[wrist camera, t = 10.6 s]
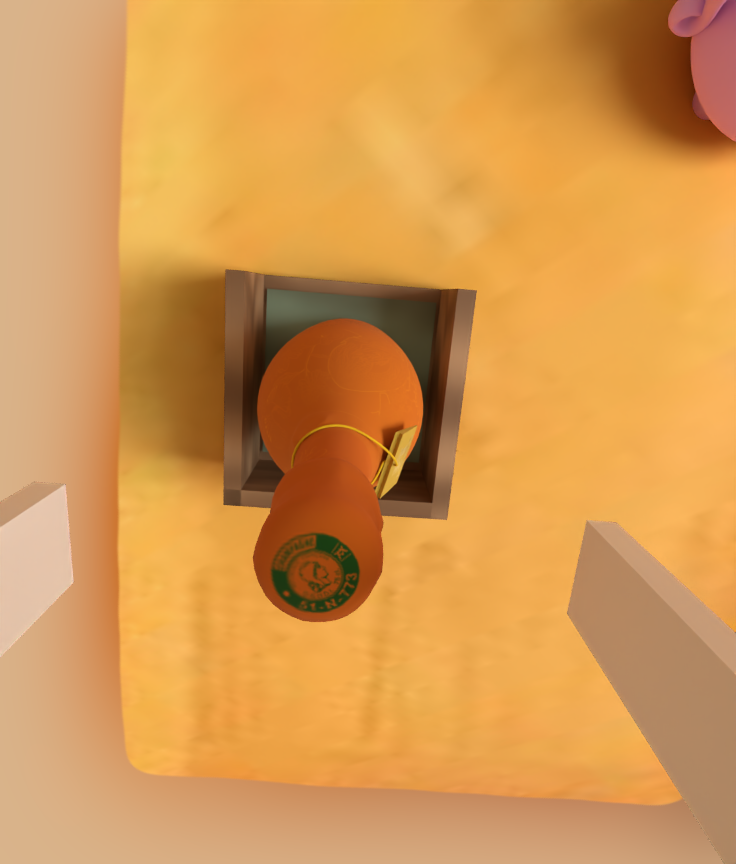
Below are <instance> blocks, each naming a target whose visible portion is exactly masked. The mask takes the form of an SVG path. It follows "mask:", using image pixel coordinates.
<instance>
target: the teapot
mask: <svg viewBox="0 0 736 864" xmlns="http://www.w3.org/2000/svg"><path fill="white" fill-rule="evenodd" d="M668 25H669V28H670V30H671V31H672V32H673V33H674V34H675V35H677V36H680V37H691V36H692V40H691V70H692V78H693V82H694V87H695V90H696V92H695V94H694V97H693V102H692V106H693V111H694V113H695V114H696V115H697V116H698V117H699V118H701V119H703V120H711V121H712V123H713V124H714V125H715V126H716V127H717V128H718V129H719V130H720V131H721V132H722V133H723V134H725V135H726V136H727V137H729V138H730V139H731V140H733V141H735V142H736V0H678V1H677V2H676V3H675V5H674V6H673V8H672V10H671V12H670V14H669V17H668Z"/></svg>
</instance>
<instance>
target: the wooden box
mask: <svg viewBox="0 0 736 864" xmlns="http://www.w3.org/2000/svg"><path fill="white" fill-rule="evenodd" d="M476 292H477V290H465V289H445V290H439V289H427V288H415V287H403V286H391V285H379V284H367V283H355V282H344V281H332V280H320V279H308V278H296V277H284V276H272V275H262V274H257V273H252V272H247V271H238V270H226V281H225V396H224V505H233V506H248V507H263V508H271V504H272V498H273V495H274V493H275V490H276V488H277V486H278V484H279V483H280V481H281V479H282V478H283V476H284V475H285V473H284V472H283V471H282V470H281V469H280V468H279V467H278V466H277V465H276V463H275V462H274V460H273V459H272V457H271V456H270V454H269V452H268V450H267V448H266V446H265V444H264V441H263V439H262V436H261V432H260V429H259V423H258V416H257V403H258V394H259V389H260V385H261V382H262V379H263V376H264V374H265V372H266V370H267V368H268V366H269V364H270V363H271V361H272V359H273V358H274V357H275V355H276V354H277V353H278V351H279V350H280V349H281V348H282V347H283V346H284V345H285V344H286V343H287V342H288V341H290V340H291V339H292V338H293V337H295V336H296V335H297V334H299V333H301V332H302V331H304V330H306V329H307V328H309V327H311V326H314V325H316V324H318V323H321V322H325V321H328V320H333V319H355V320H359V321H363V322H366V323H369V324H371V325H373V326H375V327H377V328H378V329H380V330H381V331H383V332H384V333H385V334H387V335H388V336H389V337H390V338H391V339H392V340H393V341H394V342H395V343H397V344H398V346H399V347H400V348H401V349H402V350H403V352H404V353H405V354H406V356H407V357H408V359H409V360H410V362H411V364H412V366H413V368H414V370H415V372H416V374H417V377H418V380H419V383H420V387H421V391H422V398H423V417H422V425H421V429H420V432H419V436H418V438H417V441H416V443H415V446H414V447H413V449H412V451H411V453H410V455H409V456H408V458H407V459H406V460H405V462H404V464H403V467H402V470H401V473H400V475H399V478H398V481H397V483H396V484H395V485H394V486H393V487H392V488H391V489H390V490H389V491H388V492H387V493H386V494H385V495H383V496H382V497H381V498H379V497H377V498H378V503H379V507H380V512H381V515H383V516H398V517H413V518H428V519H443V520H447V516H448V508H449V501H450V493H451V485H452V477H453V470H454V462H455V454H456V447H457V439H458V431H459V423H460V416H461V408H462V400H463V392H464V385H465V377H466V369H467V362H468V354H469V346H470V338H471V331H472V323H473V315H474V307H475V300H476ZM376 487H377V486H375V487H373V488H374V490H376Z"/></svg>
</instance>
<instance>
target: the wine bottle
mask: <svg viewBox="0 0 736 864" xmlns="http://www.w3.org/2000/svg"><path fill="white" fill-rule="evenodd" d="M257 416H258V423H259V429H260V432H261V436H262V439H263V441H264V444H265V446H266V448H267V450H268V452H269V454H270V456H271V457H272V459H273V460H274V462H275V463H276V465H277V466H278V467H279V468H280V469H281V470H282V471H283V472H284V473H285V475H284V476H283V478H282V479H281V481H280V483H279V484H278V486H277V488H276V490H275V493H274V495H273V498H272V504H271V510H270V514H269V516H268V517H267V519H266V521H265V523H264V525H263V526H262V529H261V532H260V535H259V538H258V540H257V543H256V546H255V551H254V555H253V562H254V569H255V572H256V576H257V579H258V582H259V584H260V586H261V588H262V589H263V591H264V593H265V595H266V596H267V598H268V599H269V600H270V601H271V602H272V604H273V605H275V606H276V607H277V608H279V609H280V610H281V611H283V612H285V613H287V614H288V615H290V616H292V617H295V618H297V619H300V620H302V621H309V622H326V621H333V620H337V619H340V618H343V617H345V616H348V615H349V614H351V613H352V612H354V611H355V610H356V609H357V608H358V607H359V606H360V605H361V604H362V603H363V602H364V601H365V600H366V599H367V598H368V596H369V595H370V593H371V591H372V589H373V588H374V586H375V584H376V582H377V580H378V579H379V577H380V575H381V573H382V565H383V543H382V538H381V531H382V528H383V519H382V515H381V512H380V507H379V503H378V498H377V497H379V498H381V497H382V496H383V495H385V494H386V493H387V492H388V491H389V490H390V489H391V488H392V487H393V486H394V485H395V484H396V483H397V481H398V478H399V475H400V473H401V470H402V467H403V464H404V462H405V460H406V459H407V458H408V456H409V455H410V453H411V451H412V449H413V447H414V446H415V443H416V441H417V438H418V436H419V432H420V429H421V425H422V417H423V398H422V391H421V387H420V383H419V380H418V377H417V374H416V372H415V370H414V368H413V366H412V364H411V362H410V360H409V359H408V357H407V356H406V354H405V353H404V352H403V350H402V349H401V348H400V347H399V346H398V344H397V343H395V342H394V341H393V340H392V339H391V338H390V337H389V336H388V335H387V334H385V333H384V332H383V331H381V330H380V329H378V328H377V327H375V326H373V325H371V324H369V323H366V322H363V321H359V320H355V319H333V320H328V321H325V322H321V323H318V324H316V325H314V326H311V327H309V328H307V329H306V330H304V331H302V332H301V333H299V334H297V335H296V336H295V337H293V338H292V339H291V340H290V341H288V342H287V343H286V344H285V345H284V346H283V347H282V348H281V349H280V350H279V351H278V353H277V354H276V355H275V357H274V358H273V359H272V361H271V363H270V364H269V366H268V368H267V370H266V372H265V374H264V376H263V379H262V382H261V385H260V389H259V394H258V403H257ZM375 486H377V487H376V490H374V488H373V487H375Z"/></svg>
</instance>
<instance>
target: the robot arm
mask: <svg viewBox="0 0 736 864" xmlns="http://www.w3.org/2000/svg"><path fill="white" fill-rule="evenodd" d="M65 485H66V484H57V483H43V482H33V483H31V484H30V485H28V486H26V487H24V488H23V489H21V490H19V491H18V492H16V493H14V494H13V495H11V496H9V497H8V498H6V499H5V500H3V501H1V502H0V657H1V656H2V655H3V654H4V653H5V652H6V651H7V650H8V649H9V648H10V647H11V646H12V645H13V644H14V643H15V642H16V641H17V640H18V639H19V638H20V636H22V635H23V634H24V633H25V632H26V631H27V630H28V628H29V627H30V626H31V625H32V624H33V623H34V622H35V621H36V620H37V619H38V618H39V617H40V616H41V615H42V614H43V613H44V612H45V611H46V610H47V609H48V608H49V607H50V606H51V605H52V604H53V603H54V602H55V601H56V600H57V599H58V598H59V597H60V596H61V595H62V594H63V593H64V592H65V591H66V590H67V589H68V587H69V586H70V585H71V584H72V583H73V582H74V581H73V570H72V557H71V545H70V533H69V521H68V509H67V497H66V486H65ZM567 614H568V616H569V618H570V619H571V621H572V622H573V624H574V626H575V627H576V629H577V630H578V632H579V633H580V635H581V637H582V638H583V640H584V641H585V643H586V645H587V646H588V648H589V649H590V651H591V653H592V654H593V656H594V657H595V659H596V661H597V662H598V664H599V665H600V667H601V669H602V670H603V672H604V673H605V675H606V676H607V678H608V680H609V681H610V683H611V684H612V686H613V688H614V689H615V691H616V692H617V694H618V696H619V697H620V699H621V700H622V702H623V704H624V705H625V707H626V708H627V710H628V712H629V713H630V715H631V716H632V718H633V719H634V721H635V723H636V724H637V726H638V727H639V729H640V731H641V732H642V734H643V735H644V737H645V739H646V740H647V742H648V743H649V745H650V747H651V748H652V750H653V751H654V753H655V754H656V756H657V758H658V759H659V761H660V762H661V764H662V766H663V767H664V769H665V770H666V772H667V774H668V775H669V777H670V778H671V780H672V782H673V783H674V785H675V786H676V788H677V790H678V791H679V793H680V794H681V796H682V797H683V799H684V801H685V802H686V804H687V805H688V807H689V808H690V810H691V812H692V813H693V815H694V817H695V818H696V820H697V821H698V823H699V825H700V826H701V828H702V829H703V831H704V832H705V834H706V836H707V837H708V839H709V840H710V842H711V844H712V845H713V847H714V848H715V850H716V851H717V853H718V855H719V856H720V858H721V860H722V861H723V863H724V864H736V632H734V631H733V630H732V629H731V628H730V627H729V626H728V625H727V624H725V623H724V622H723V621H722V620H721V619H720V618H719V617H718V616H717V615H716V614H715V613H714V612H713V611H711V610H710V609H709V608H708V607H707V606H706V605H705V604H704V603H703V602H702V601H701V600H700V599H698V598H697V597H696V596H695V595H694V594H693V593H692V592H691V591H690V590H689V589H688V588H687V587H685V586H684V585H683V584H682V583H681V582H680V581H679V580H678V579H677V578H676V577H675V576H674V575H673V574H671V573H670V572H669V571H668V570H667V569H666V568H665V567H664V566H663V565H662V564H661V563H660V562H658V561H657V560H656V559H655V558H654V557H653V556H652V555H651V554H650V553H649V552H648V551H647V550H646V549H644V548H643V547H642V546H641V545H640V544H639V543H638V542H637V541H636V540H635V539H634V538H633V537H631V536H630V535H629V534H628V533H627V532H626V531H625V530H624V529H623V528H622V527H621V526H620V525H619V524H617V523H616V522H604V521H590V520H587V522H586V526H585V531H584V536H583V541H582V545H581V550H580V555H579V559H578V564H577V569H576V574H575V578H574V583H573V588H572V592H571V597H570V602H569V607H568V611H567Z"/></svg>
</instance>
